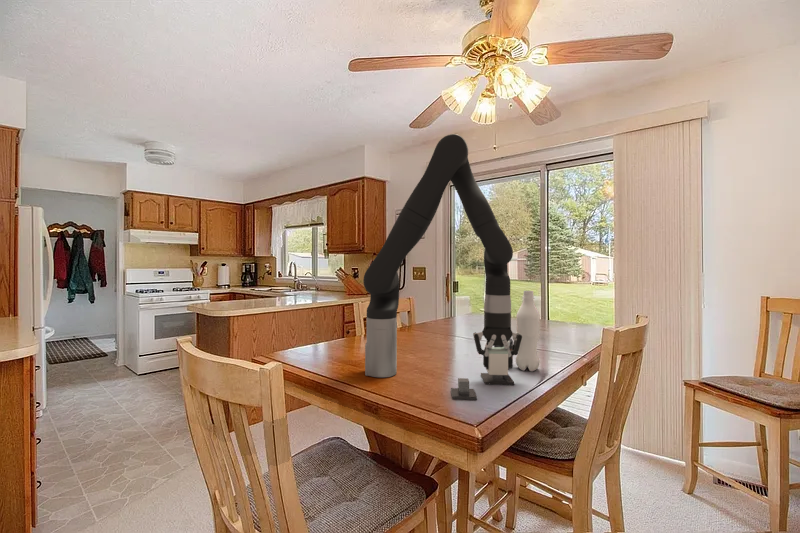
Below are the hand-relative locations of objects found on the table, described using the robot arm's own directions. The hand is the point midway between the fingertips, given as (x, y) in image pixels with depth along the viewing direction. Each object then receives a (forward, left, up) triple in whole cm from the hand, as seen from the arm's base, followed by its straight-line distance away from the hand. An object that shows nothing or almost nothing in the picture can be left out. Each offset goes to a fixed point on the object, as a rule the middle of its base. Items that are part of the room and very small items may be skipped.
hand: (496, 368), depth 108 cm
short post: (-11, -13, -3) cm, 17 cm away
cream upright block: (0, 0, -1) cm, 1 cm away
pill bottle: (+5, +15, -4) cm, 16 cm away
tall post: (0, 0, -3) cm, 3 cm away
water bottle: (+12, +12, -4) cm, 17 cm away
